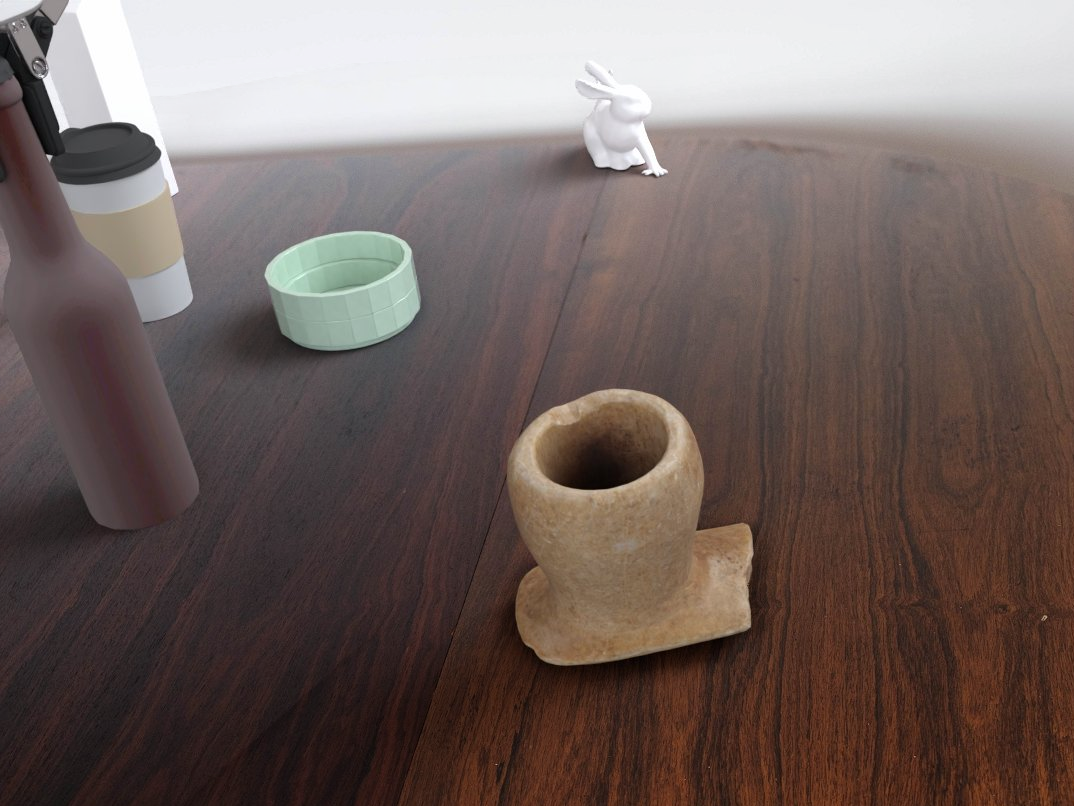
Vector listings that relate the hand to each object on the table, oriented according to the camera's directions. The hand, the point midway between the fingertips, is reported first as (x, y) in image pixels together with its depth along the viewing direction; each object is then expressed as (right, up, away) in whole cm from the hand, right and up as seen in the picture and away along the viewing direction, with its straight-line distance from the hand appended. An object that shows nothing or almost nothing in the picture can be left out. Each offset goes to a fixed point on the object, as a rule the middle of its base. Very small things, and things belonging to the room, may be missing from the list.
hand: (14, 162), depth 74 cm
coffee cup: (-7, +5, +42) cm, 43 cm away
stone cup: (+36, -27, +4) cm, 45 cm away
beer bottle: (+2, -18, +17) cm, 25 cm away
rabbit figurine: (+35, +24, +57) cm, 71 cm away
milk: (-15, +22, +60) cm, 66 cm away
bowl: (+12, +2, +37) cm, 39 cm away
